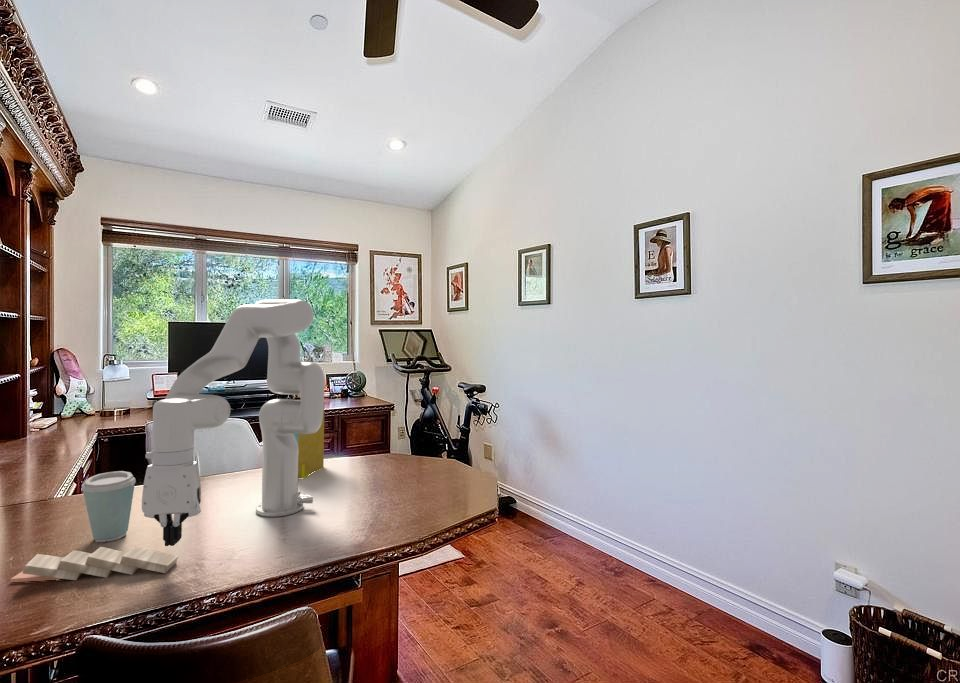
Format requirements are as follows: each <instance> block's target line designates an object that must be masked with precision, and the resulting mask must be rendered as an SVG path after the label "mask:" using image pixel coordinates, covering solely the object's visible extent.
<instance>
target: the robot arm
mask: <svg viewBox="0 0 960 683" xmlns="http://www.w3.org/2000/svg"><path fill="white" fill-rule="evenodd" d="M313 321H314V310H313V307H312V305H311V304H309V303H308V302H307V301H306V300H302V299H262V300H258V301H255V303H253V304H243V305H239V306H237V307H235V309H233V311H231V313H230V315H229V317H228V318H227V321H226V322H225V324H224V326H223V328H222V330H221V332H220V334H219V336H218V337H217V339H216V341H215V343H214V345H213V346H212V348H211V350H210V351H209V352H207V353H206V354H205V355H203V356H202V357H200V358H199V359H197V360H195V362H193V363H192V364H191V365H189V366H188V367H187V368H186V369H184V370H183V371H182V372H181V373H180V374H179V375H178V376H177V378H176V379H175V380H174V382H173V384H172V386H171V387H170V389H169V391H168V392H167V394H166V396H165V398H164V399H159V400H158V401H155V402H154V405H153V407H152V440H151V441H152V442H151V444H152V448H151V451H150V452H149V451H148V452H147V451H146V453H145V459H146V460H148V459H149V460H150V462H151V464H148V465H147V467H146V470H145V474H144V475H145V476H144V481H143V486H142V494H141V495H142V496H141V512H142V513H144V514H143V517H145V518H149V519H155V521H157V522H158V523H159V525H160V527H161V528H162V529H163V530H162V540H163V541H164V546H165V547H169V546H171V547H174V546H175V545H176V544H177V543H179V541H180V540H181V539H182V535H183V532H182V531H183V528H182V526H183V522H184V521H186V519H188V518H191V517H194V516H195V517H196V516H198V515H199V514H201V512H202V510H201V506H200V504H201V503H202V502H201V501H202V486H201V485H202V484H201V475H200V469H199V466H198V463H197V460H196V461H195V456H194V455H195V453H194V452H195V449H194V448H195V430H203V429H206V430H207V429H215V428H218V427H220V426H222V425H224V424H225V423H226V422H227V421H228V419H229V418H230V414H231V405H230V403H229V402H228V400H227V399H226V398H225V397H222V396H219V395H215V394H203V393H201V391H202V390H203V389H205V387H207V386H208V385H210V384H211V383H212V382H215V381H216V380H219V379H221V378H223V377H226V376H229V375H231V374H234V373H235V372H236V373H237V372H238V371H240V370H242V369H244V368H245V367H246V366H247V364H248V362H249V360H250V357H251V356H252V354H253V352H254V350H255V347H256V346H257V343H258V342H259V340H260V339H261V338H262V339H263V338H265V339H266V341H267V346H268V347H267V348H268V349H267V350H268V351H267V352H268V353H267V354H268V356H267V358H268V359H267V371H266V372H267V374H266V380H267V381H266V383H267V384H266V385H267V388H268V390H269V391H270V392H271V393H274V394H278V395H290V396H300V399H290V398H289V399H288V398H274V399H270V400H268V401H266V402H265V403H264V404H263V405H262V406H261V407H260V410H259V413H258V420H259V427H260V430H261V438H262V440H261V442H262V463H261V464H262V466H261V467H262V471H261V472H262V475H261V476H262V477H261V482H262V483H261V503H260V504H258V505H256V507H255V513H256V514H257V515H259V516H262V517H268V518H271V517H272V518H273V517H274V518H275V517H283V516H289V515H293V514H296V513H298V512H300V511H301V510H302V509H303V508H304V504H313V503H314V496H312V495H311V494H305V495H304V494H301V490H300V489H299V479H298V444H297V441H296V439H295V437H294V435H293V434H313V433H315V432H317V431H318V430H319V428H320V426H321V424H322V419H323V405H324V406H325V374H324V371H323V369H322V367H321V366H320V365H319V364H317V363H315V362H312V361H301V344H300V341H299V338H298V336H297V333H300V332H303V331H306V330H307V329H308V328H309V327H311V325H312V323H313Z"/></svg>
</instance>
